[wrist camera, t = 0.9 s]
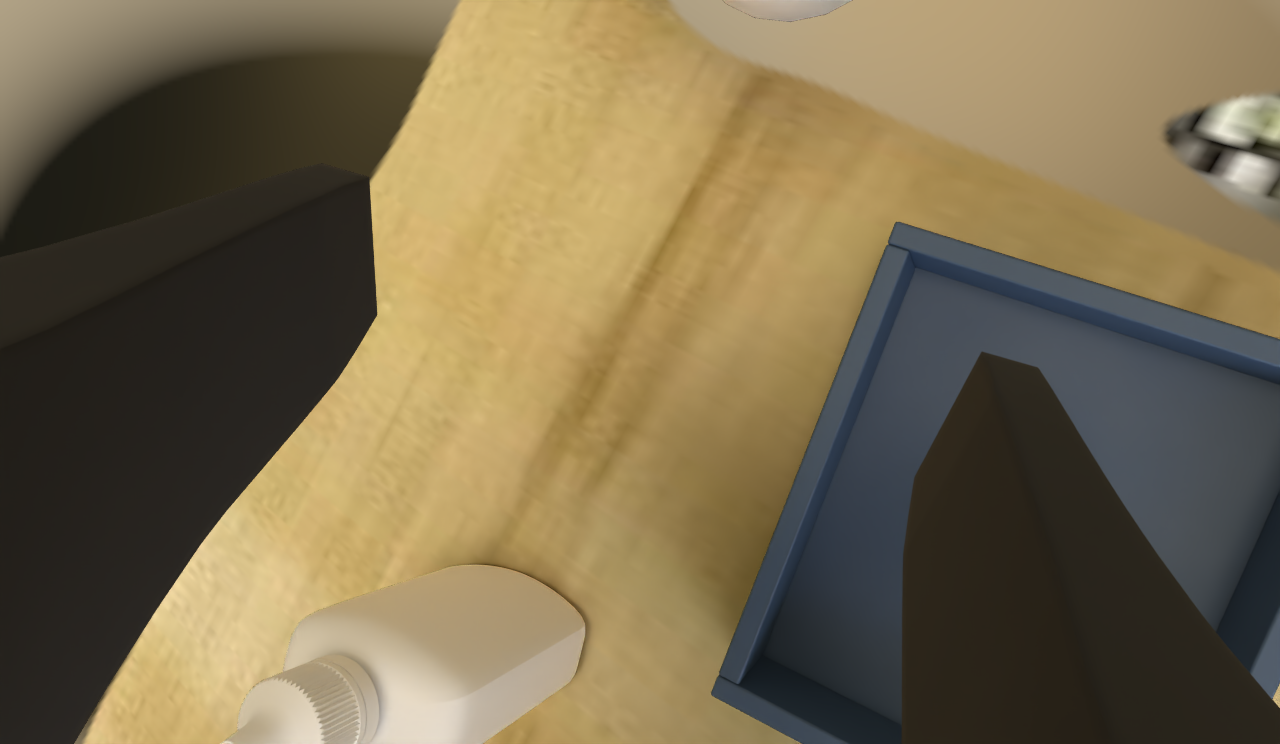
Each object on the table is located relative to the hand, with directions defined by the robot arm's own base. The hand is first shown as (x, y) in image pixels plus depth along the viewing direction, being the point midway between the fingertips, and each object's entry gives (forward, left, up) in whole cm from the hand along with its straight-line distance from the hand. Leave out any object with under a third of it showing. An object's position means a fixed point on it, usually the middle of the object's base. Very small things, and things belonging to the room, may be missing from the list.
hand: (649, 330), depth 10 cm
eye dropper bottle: (-12, +7, -17) cm, 21 cm away
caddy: (-3, -6, -16) cm, 18 cm away
